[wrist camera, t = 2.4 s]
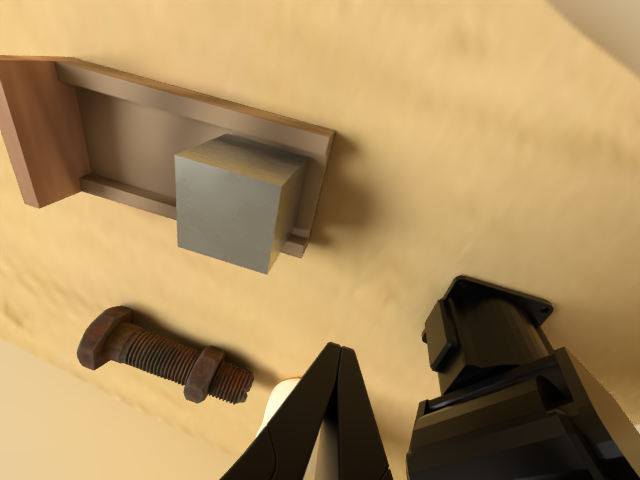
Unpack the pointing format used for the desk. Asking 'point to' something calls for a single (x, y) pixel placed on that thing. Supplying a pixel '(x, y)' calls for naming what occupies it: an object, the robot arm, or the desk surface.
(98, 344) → the bolt
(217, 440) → the desk surface
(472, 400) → the robot arm
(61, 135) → the track
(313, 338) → the desk surface
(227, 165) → the block
